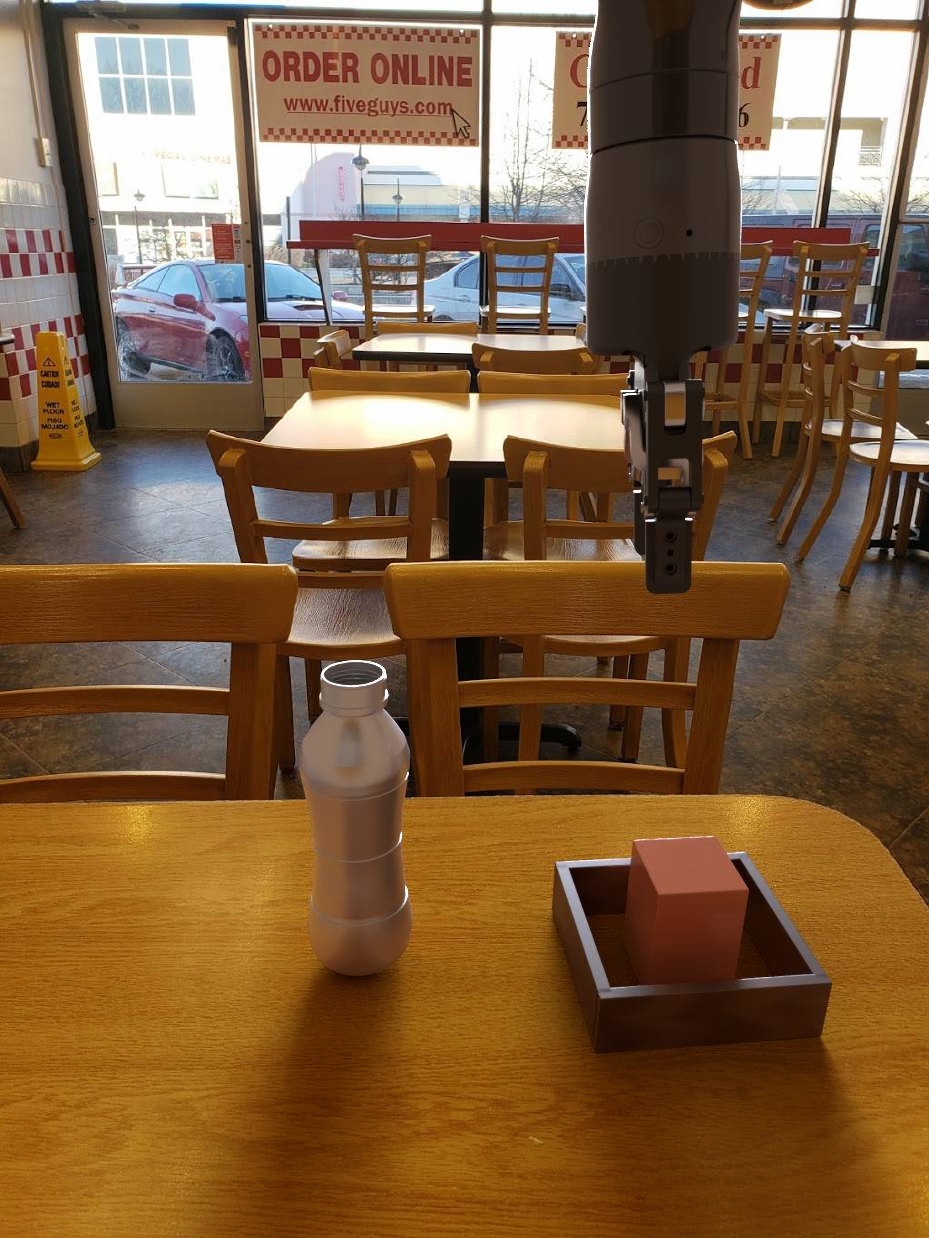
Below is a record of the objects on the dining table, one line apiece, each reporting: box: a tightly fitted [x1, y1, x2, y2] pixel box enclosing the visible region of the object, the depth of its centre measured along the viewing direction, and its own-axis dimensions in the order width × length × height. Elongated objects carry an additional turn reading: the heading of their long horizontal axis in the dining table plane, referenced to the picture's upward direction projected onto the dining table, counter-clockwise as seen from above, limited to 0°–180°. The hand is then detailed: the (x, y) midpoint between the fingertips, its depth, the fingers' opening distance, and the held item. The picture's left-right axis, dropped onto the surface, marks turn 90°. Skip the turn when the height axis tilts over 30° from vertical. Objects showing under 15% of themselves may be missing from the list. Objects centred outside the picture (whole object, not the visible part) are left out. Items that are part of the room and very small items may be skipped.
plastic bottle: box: [297, 660, 414, 977], centre depth 57 cm, size 6×7×20 cm
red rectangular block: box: [621, 835, 749, 986], centre depth 59 cm, size 6×6×8 cm
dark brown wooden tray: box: [551, 851, 833, 1054], centre depth 59 cm, size 14×13×4 cm
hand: (659, 571), depth 51 cm, fingers open, 8 cm apart
